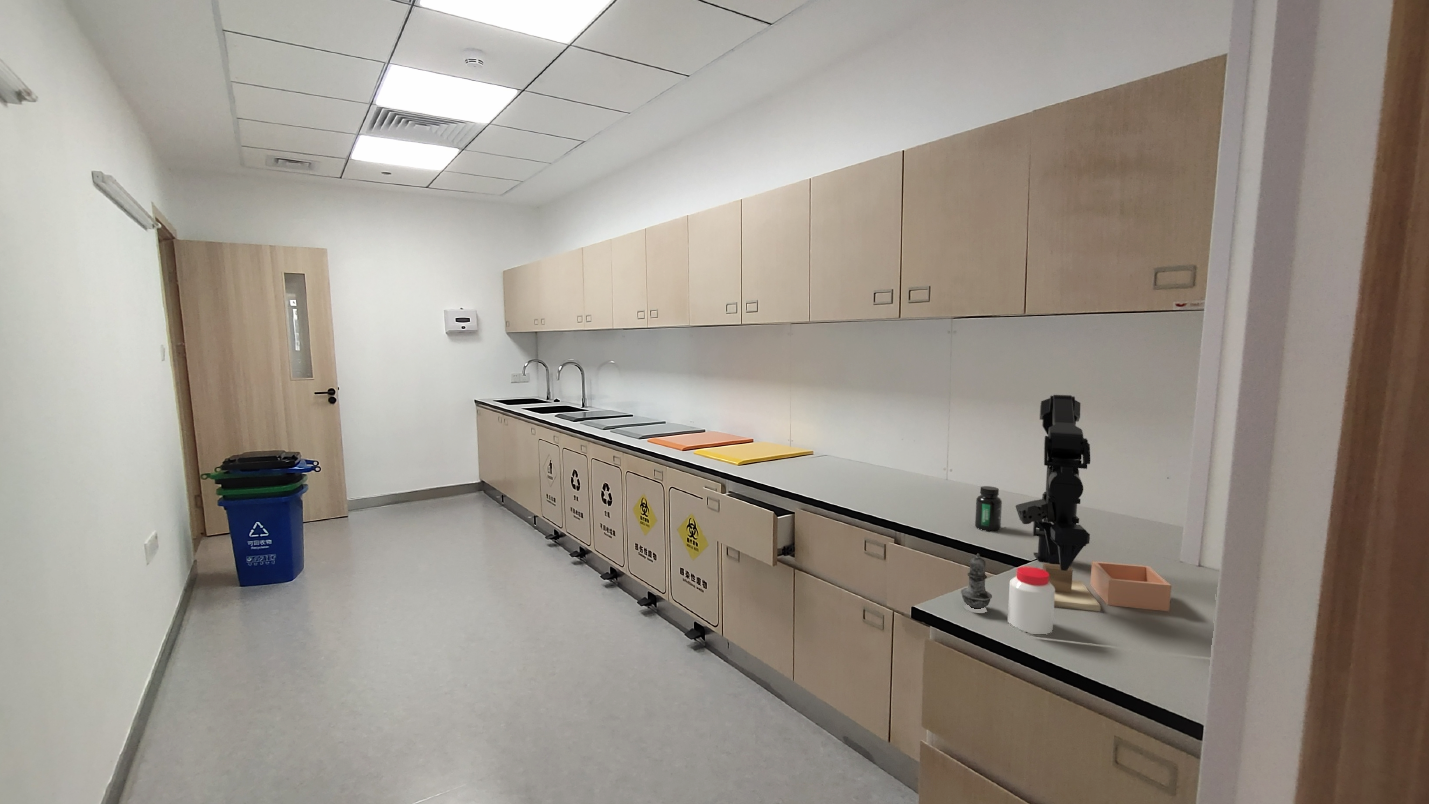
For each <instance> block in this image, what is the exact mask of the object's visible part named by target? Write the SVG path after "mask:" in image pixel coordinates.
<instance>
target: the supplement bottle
mask: <svg viewBox="0 0 1429 804" xmlns="http://www.w3.org/2000/svg"><path fill="white" fill-rule="evenodd" d="M999 496H1000V491H999V488H998V487H996V486H990V485H984V486H980V492H979V495H978V496H977V497H976V499H975V517H974V518H975V519H974V520H975V521H974V525H975V526H974V527H975V528H976V529H978V528H979V529H978V530H980V529H982V530H981V531H983V530H986V531H985V532H990V531H994V532H999V531H1000V530H1001V525H1002V509H1003V501H1002V499H1001V498H1000V497H999ZM998 530H999V531H998Z"/></svg>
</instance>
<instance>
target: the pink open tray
mask: <svg viewBox="0 0 1429 804" xmlns="http://www.w3.org/2000/svg"><path fill="white" fill-rule="evenodd" d="M1090 571H1091V572H1090V586H1091V587H1092V589H1094V591H1095V592H1096V593H1097V595H1098V596H1099V597H1100V598H1101V599H1102V600H1103V601H1104V603H1105V604H1106V606H1115V607H1122V608H1123V607H1125V608H1133V609H1134V608H1135V609H1145V610H1154V611H1163V612H1170V605H1171V604H1170V603H1171V593H1172V592H1171V591H1172V585H1171V584H1170V583H1169V582H1168V581H1167V580H1166V579H1164V578H1163V577H1162V576H1161V575H1160V574H1158V573H1157V572H1156V571H1155V569H1153V568H1151V567H1150V566H1149V565H1140V564H1127V563H1118V562H1105V561H1093V560H1092V561H1091V569H1090Z"/></svg>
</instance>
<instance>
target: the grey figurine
mask: <svg viewBox="0 0 1429 804" xmlns="http://www.w3.org/2000/svg"><path fill="white" fill-rule="evenodd" d="M980 556H981V554H980V553H977V554H976V556H973V557H972V558H971V559H970V561H969V572H967V576H968V585H967V587H965V588H963V589H961V590H960V594H961V596H962V600H963V602H964V603H965V605H966V604H967V605H969V606H970V607H971V608H974V609H981V608H984V607H985V608H987V606H989V604H990V602H991V599H992V598H993V595H992V594H991V592H989V591H987V590H986V579H987V578H988V576H987V575H986V561H985V559H984V558H982V557H980Z"/></svg>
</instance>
